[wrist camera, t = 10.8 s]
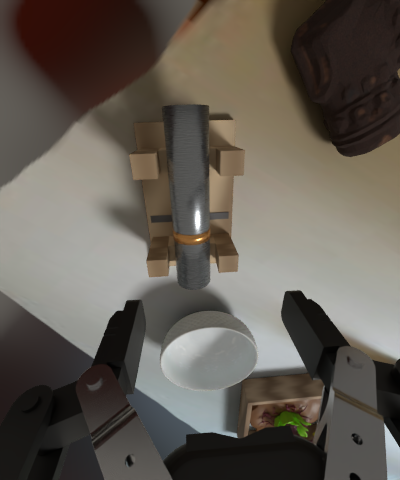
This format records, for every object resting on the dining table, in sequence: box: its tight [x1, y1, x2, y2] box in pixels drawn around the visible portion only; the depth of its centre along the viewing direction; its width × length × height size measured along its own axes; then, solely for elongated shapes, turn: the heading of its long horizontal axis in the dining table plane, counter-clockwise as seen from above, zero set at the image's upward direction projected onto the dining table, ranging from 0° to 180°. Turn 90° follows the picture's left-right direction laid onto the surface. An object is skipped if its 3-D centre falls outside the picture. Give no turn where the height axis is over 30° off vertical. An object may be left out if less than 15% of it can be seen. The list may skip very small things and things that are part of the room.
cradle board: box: [129, 120, 245, 277], centre depth 28 cm, size 12×20×8 cm, turn 1°
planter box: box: [237, 373, 324, 440], centre depth 56 cm, size 26×26×5 cm
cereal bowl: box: [160, 311, 258, 391], centre depth 40 cm, size 17×17×7 cm
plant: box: [250, 399, 321, 442], centre depth 54 cm, size 20×20×11 cm
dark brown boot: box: [291, 0, 400, 157], centre depth 22 cm, size 10×15×15 cm
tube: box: [162, 105, 210, 290], centre depth 25 cm, size 20×4×4 cm, turn 1°
